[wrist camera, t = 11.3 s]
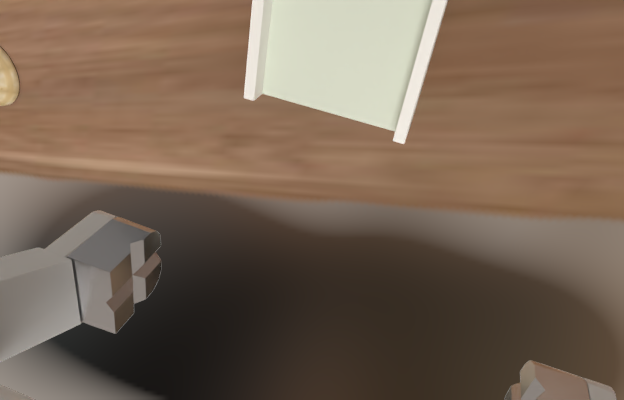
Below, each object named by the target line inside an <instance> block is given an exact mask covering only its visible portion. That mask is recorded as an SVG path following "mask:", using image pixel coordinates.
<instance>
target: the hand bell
mask: <svg viewBox="0 0 624 400" xmlns="http://www.w3.org/2000/svg"><path fill="white" fill-rule="evenodd" d="M18 94H19V78H18V74H17V72H16V69H15V67H14V65H13V63H12V61H11V59H10V58H9V56H8V55H7V54H6V52H5V51H4V50H3V49H2V48H1V47H0V106H7V105H10V104H12V103H13V102H14V101H15V100H16V98H17V96H18Z"/></svg>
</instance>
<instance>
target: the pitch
mask: <svg viewBox="0 0 624 400" xmlns="http://www.w3.org/2000/svg"><path fill="white" fill-rule="evenodd" d="M447 3H448V0H252V11H251V22H250V33H249V45H248V56H247V67H246V78H245V89H244V98H246V99H249V100H253V101H254V100H255V99H257V98H258V97H259V96H260V95H261V94H265V95H269V96H272V97H276V98H279V99H283V100H286V101H290V102H293V103H297V104H300V105H304V106H307V107H311V108H314V109H318V110H321V111H325V112H328V113H332V114H336V115H339V116H343V117H346V118H350V119H353V120H357V121H360V122H364V123H367V124H371V125H374V126H378V127H381V128H385V129H388V130H392V131H395V135H394V138H393V141H395V142H398V143H402V144H404V143H405V140H406V138H407V135H408V132H409V130H410V126H411V123H412V120H413V116H414V113H415V109H416V106H417V103H418V99H419V96H420V93H421V89H422V86H423V83H424V79H425V76H426V73H427V69H428V66H429V63H430V59H431V56H432V53H433V49H434V46H435V43H436V39H437V36H438V33H439V29H440V26H441V23H442V19H443V16H444V13H445V9H446V6H447Z"/></svg>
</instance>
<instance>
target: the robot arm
mask: <svg viewBox="0 0 624 400" xmlns="http://www.w3.org/2000/svg"><path fill="white" fill-rule="evenodd" d="M160 246H161V237H160V234H159V233H158V232H157V231H155V230H152V229H150V228H147V227H144V226H142V225H139V224H136V223H133V222H131V221H128V220H126V219H123V218H120V217H116V216H113V215H111V214H108V213H106V212H103V211H100V210H98V211H94V212H92V213H90V214H89V215H88V216H86V217H85V218H84V219H83V220H81V221H80V222H79V223H77V224H76V225H75V226H74V227H72V228H71V229H70V230H69V231H67V232H66V233H65V234H63V235H62V236H61V237H60V238H58V239H57V240H56V241H54V242H53V243H52V244H51V245H49V246H48V247H47V248H46V249H42V248H34V249H30V250H26V251H23V252H19V253H15V254H11V255H7V256H4V257H0V362H2V361H4V360H6V359H8V358H10V357H12V356H14V355H16V354H19V353H20V352H22V351H25V350H27V349H29V348H31V347H33V346H35V345H37V344H39V343H42V342H44V341H46V340H47V339H50V338H52V337H54V336H56V335H58V334H60V333H62V332H65V331H67V330H68V329H71V328H73V327H75V326H77V325H79V324H81V322H84V323H87V324H89V325H92V326H95V327H98V328H100V329H103V330H106V331H109V332H112V333H114V334H116V333H117V332H118V331H119V329H120V328H121V327H122V326H123V325H124V324H125V323H126V322H127V320H128V319H129V318H130V317H131V316H132V315H133V314H134V303H137V302H140V301H142V300H145V299H146V298H147V297H148V296H149V295H150V294H151V293H152V291H153V290H154V288H155V286H156V284H157V282H158V280H159V277H160V272H161V260H160V258H159V257H158V255H157V253H156V251H157V250H158V248H159V247H160ZM0 400H35V399H33V398H31V397H28V396H26V395H24V394H21V393H19V392H16V391H14V390H12V389H10V388H7V387H5V386H3V385H0ZM504 400H617V399H616V395H615V392H614V391H613V389H612V388H611V387H610V386H607V385H604V384H601V383H598V382H595V381H592V380H589V379H586V378H581V377H579V376H576V375H573V374H570V373H567V372H565V371H562V370H558V369H555V368H553V367H550V366H547V365H543V364H541V363H538V362H535V361H531V360H529V361H528V362H527V363H526V364H525V365H524V366H523V368H522V370H521V371H520V383H517V384H515V385H512V386H511V387H510V389H509V391H508V392H507V394H506V396H505V399H504Z"/></svg>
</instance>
